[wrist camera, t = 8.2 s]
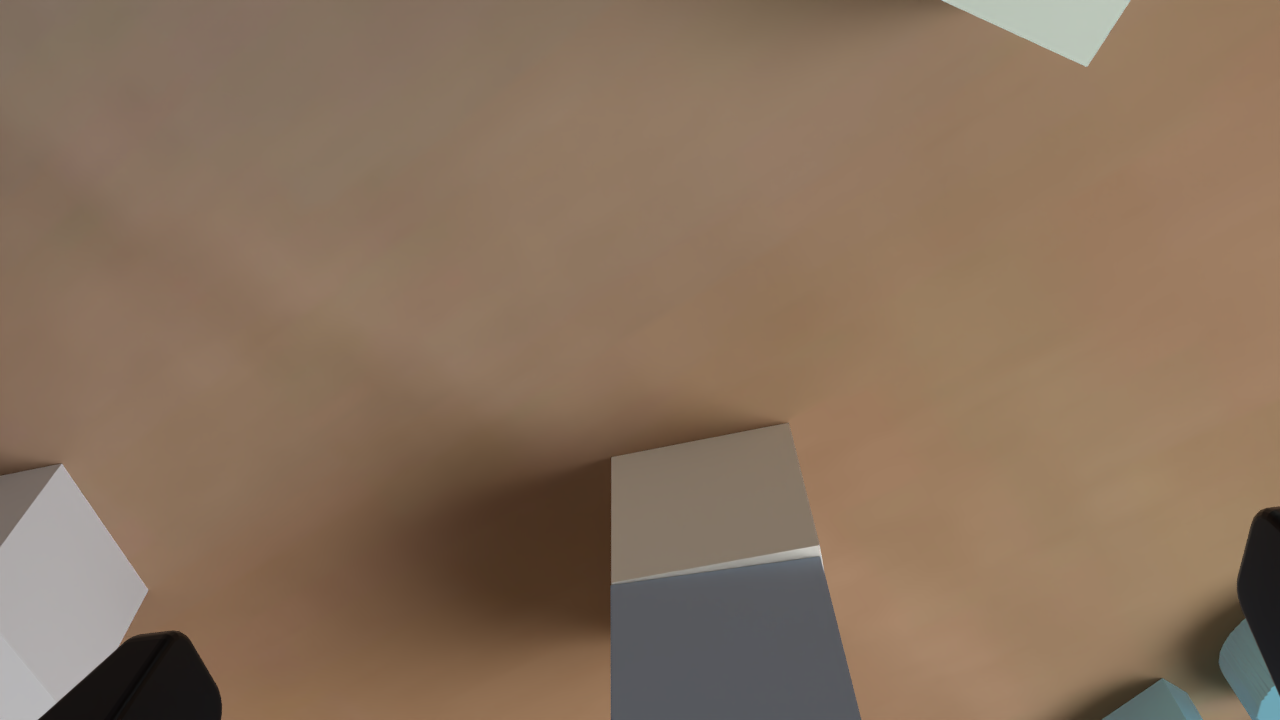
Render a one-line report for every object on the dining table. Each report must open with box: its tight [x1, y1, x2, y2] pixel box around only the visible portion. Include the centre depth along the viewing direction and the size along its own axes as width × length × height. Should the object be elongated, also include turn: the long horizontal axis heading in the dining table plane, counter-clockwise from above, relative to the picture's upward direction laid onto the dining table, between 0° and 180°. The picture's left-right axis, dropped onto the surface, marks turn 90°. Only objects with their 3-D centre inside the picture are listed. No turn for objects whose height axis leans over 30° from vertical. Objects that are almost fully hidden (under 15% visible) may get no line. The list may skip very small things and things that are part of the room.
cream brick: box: [611, 423, 824, 585], centre depth 22 cm, size 6×4×4 cm, turn 13°
